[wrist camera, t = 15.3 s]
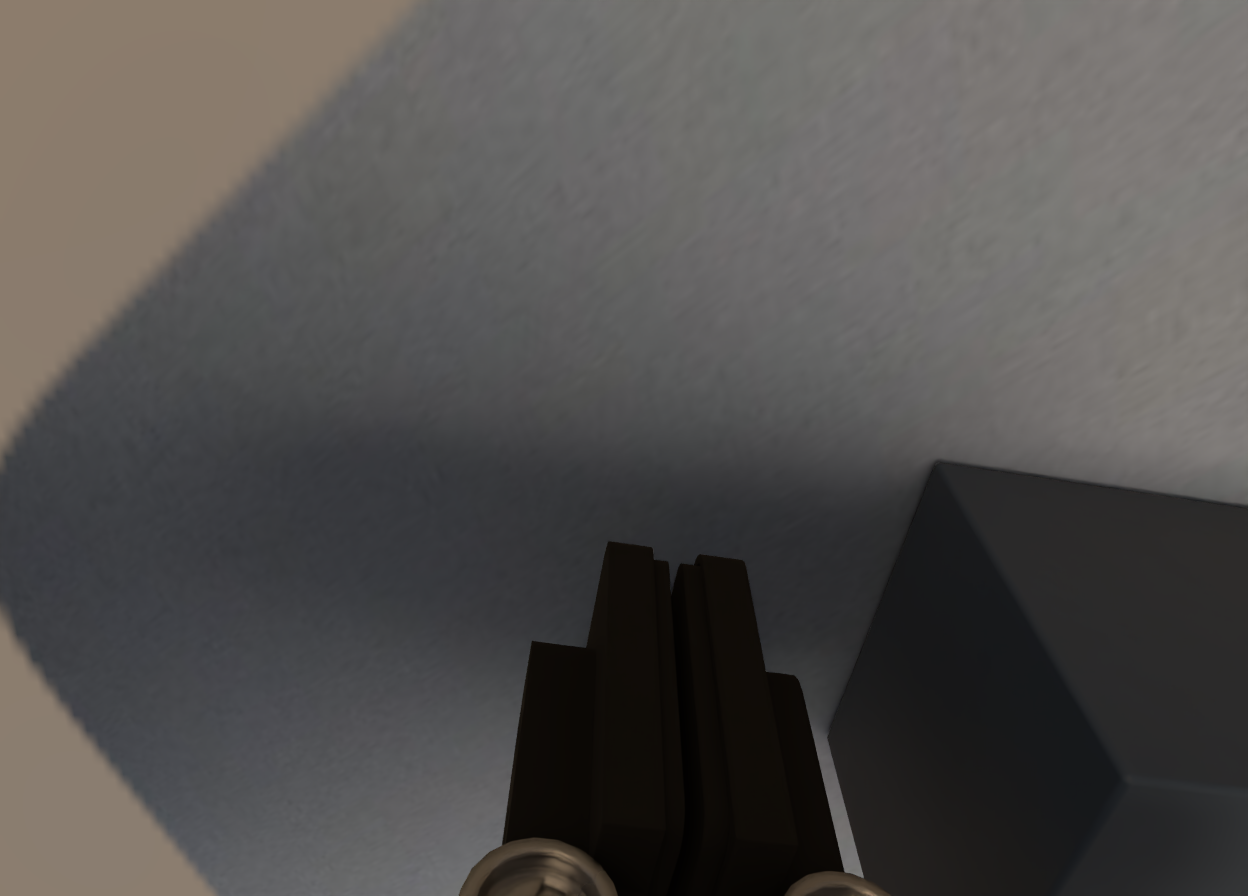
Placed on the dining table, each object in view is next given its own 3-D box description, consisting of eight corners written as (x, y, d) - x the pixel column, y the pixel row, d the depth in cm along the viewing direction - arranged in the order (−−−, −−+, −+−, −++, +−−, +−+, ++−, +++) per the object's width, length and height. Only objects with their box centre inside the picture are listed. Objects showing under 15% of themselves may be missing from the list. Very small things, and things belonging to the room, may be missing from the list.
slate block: (825, 736, 14) (919, 1099, 10) (934, 459, 12) (1127, 778, 7) (1129, 773, 14) (1350, 1135, 10) (1296, 514, 12) (1680, 844, 8)
